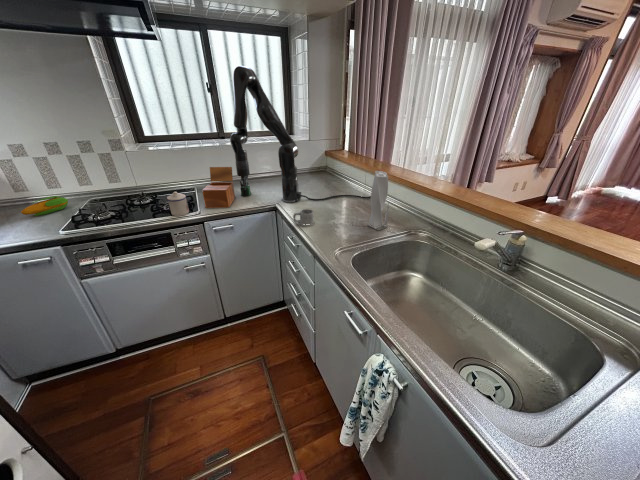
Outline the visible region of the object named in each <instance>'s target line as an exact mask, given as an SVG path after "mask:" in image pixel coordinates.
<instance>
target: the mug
mask: <svg viewBox="0 0 640 480" xmlns="http://www.w3.org/2000/svg"><path fill="white" fill-rule="evenodd" d="M314 213H315V212H314V209H310V208H303V209H300V211H299V212H295V213H293V215H292V216H293V217H292V219H293V222H294V223H298V224H299V225H300V226H301V227H304V228H305V227H306V228H308V227H312V226H314V215H315V214H314ZM296 216H299V219H296ZM312 223H313V224H312ZM303 224H305V225H303ZM306 224H310V225H306Z"/></svg>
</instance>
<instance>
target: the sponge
mask: <svg viewBox="0 0 640 480" xmlns="http://www.w3.org/2000/svg"><path fill="white" fill-rule="evenodd" d="M243 188H244V187H243ZM246 191H247V196H246V197H249V196H251V186H250V185H248V186H246ZM240 195H241V197H245V196H244V195H243V190H241V187H240Z"/></svg>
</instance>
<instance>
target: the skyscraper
mask: <svg viewBox="0 0 640 480" xmlns="http://www.w3.org/2000/svg"><path fill="white" fill-rule="evenodd" d="M388 193H389V175H388V172H385V171H382V170H375V171H374V178H373V180H372V185H371V191H370V196H371V198H370V209H371V210H370V211H371V212H370V215H369V219H368V223H370V224H371V225H373V226H374V227H373V226H371V225H370V224H368V223H367V227H369V228H371V229H373V230H375V231H377V232H379V231H382V230H385V229H387V228H389V226H388V223H389V216H390V215H389V214H390V211H389V209H390V203H389V202H388V204H387V206H386V211H385V216H384V219H383V209H384V207H385V205H386V201H387V198H388ZM383 221H384V222H383ZM382 224H383V225H382ZM378 225H381V226H378ZM384 225H387V226H384ZM375 226H378V227H376V228H375Z"/></svg>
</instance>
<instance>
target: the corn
mask: <svg viewBox="0 0 640 480" xmlns="http://www.w3.org/2000/svg"><path fill="white" fill-rule="evenodd" d="M68 205H69V199H68V198H66V197H64V196H59V195H53V196H48V197H47V196H46V197H43V198H40V199H37V200H35V201H32V202H31V205H27V206H26V207H25V208H23V209H22V210H21V212H20V214H22V215H24V216H28V215H33V217H40V216H45V215H49V214H51V213H55V212H58V211H61V210H64V209H65V208H66V207H67V206H68Z"/></svg>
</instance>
